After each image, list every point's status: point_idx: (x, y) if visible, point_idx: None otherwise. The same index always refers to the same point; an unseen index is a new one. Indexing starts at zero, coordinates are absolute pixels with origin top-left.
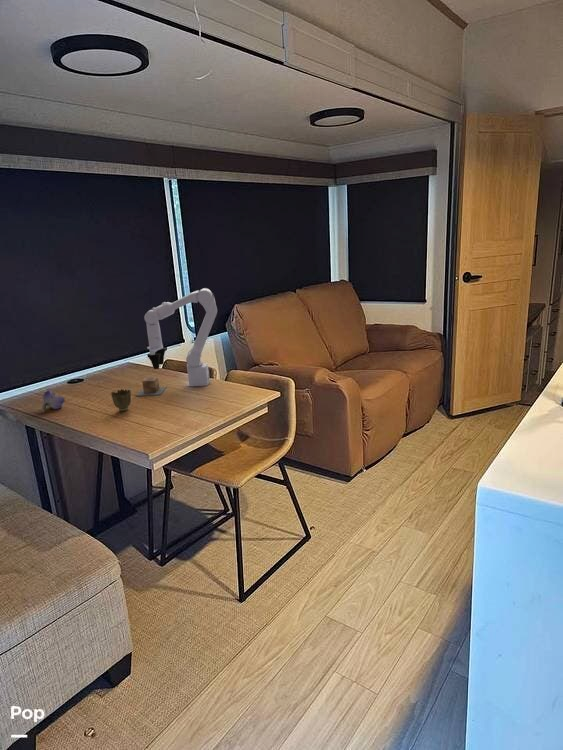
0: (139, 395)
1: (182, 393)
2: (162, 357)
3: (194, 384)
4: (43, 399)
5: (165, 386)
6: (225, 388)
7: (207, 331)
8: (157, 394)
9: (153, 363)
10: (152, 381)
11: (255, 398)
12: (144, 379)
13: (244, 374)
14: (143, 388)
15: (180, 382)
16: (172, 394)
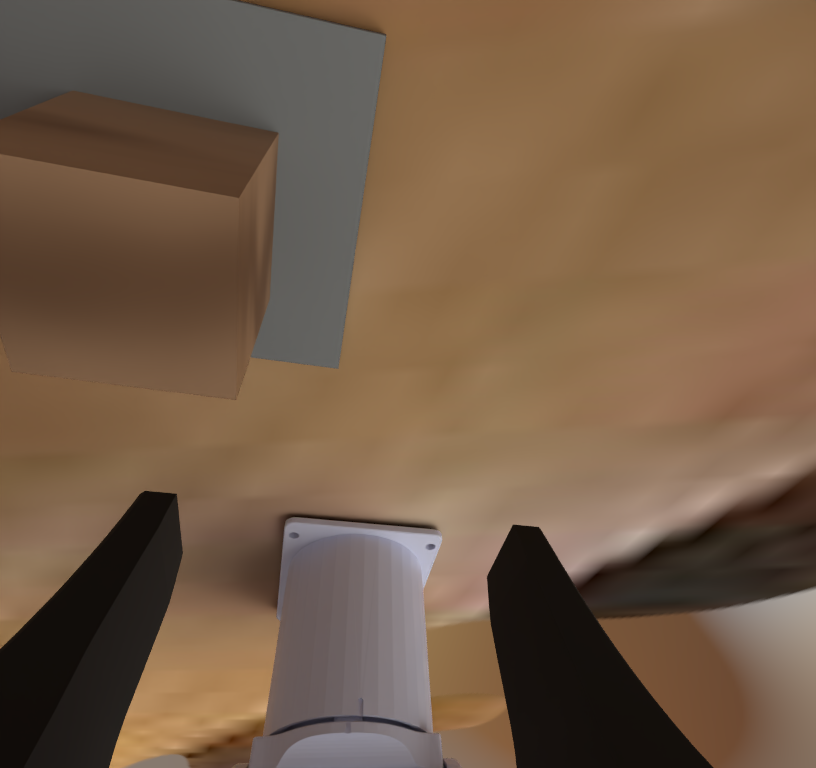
0: None
1: (96, 493)
2: (518, 729)
3: (288, 570)
4: None
5: (339, 356)
6: (197, 674)
7: None
8: None
9: (74, 623)
10: (9, 332)
11: None
12: (91, 181)
13: (460, 721)
14: (30, 110)
15: (465, 464)
16: (64, 425)
